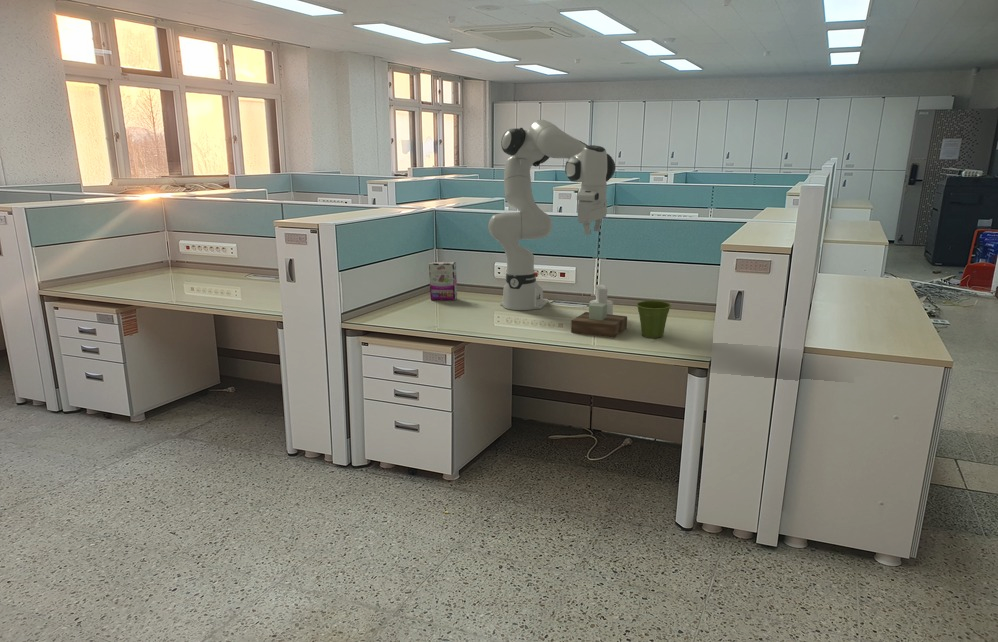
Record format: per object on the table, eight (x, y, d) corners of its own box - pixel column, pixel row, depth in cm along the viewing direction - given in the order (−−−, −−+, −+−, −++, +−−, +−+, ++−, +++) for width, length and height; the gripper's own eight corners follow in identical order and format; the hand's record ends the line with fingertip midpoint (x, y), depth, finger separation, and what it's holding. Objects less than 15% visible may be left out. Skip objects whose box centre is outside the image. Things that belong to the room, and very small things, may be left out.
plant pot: (631, 331, 239) (632, 301, 236) (663, 330, 239) (665, 300, 237) (640, 340, 227) (641, 308, 224) (674, 339, 228) (676, 307, 225)
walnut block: (585, 324, 251) (585, 311, 250) (626, 329, 243) (627, 316, 242) (571, 333, 239) (571, 320, 238) (614, 339, 231) (614, 325, 230)
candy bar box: (457, 298, 296) (456, 261, 292) (455, 300, 291) (453, 263, 287) (433, 297, 298) (431, 261, 294) (430, 300, 293) (428, 263, 289)
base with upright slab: (587, 314, 264) (588, 284, 261) (610, 314, 264) (611, 284, 261) (590, 320, 256) (591, 289, 253) (614, 319, 256) (615, 289, 253)
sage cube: (593, 315, 243) (593, 302, 242) (606, 317, 241) (607, 303, 240) (588, 318, 239) (589, 305, 238) (602, 320, 237) (602, 306, 236)
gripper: (595, 190, 245) (594, 228, 249) (574, 195, 228) (573, 236, 232) (611, 191, 242) (610, 229, 246) (592, 196, 225) (590, 237, 229)
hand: (592, 232), depth 239 cm, fingers open, 8 cm apart
